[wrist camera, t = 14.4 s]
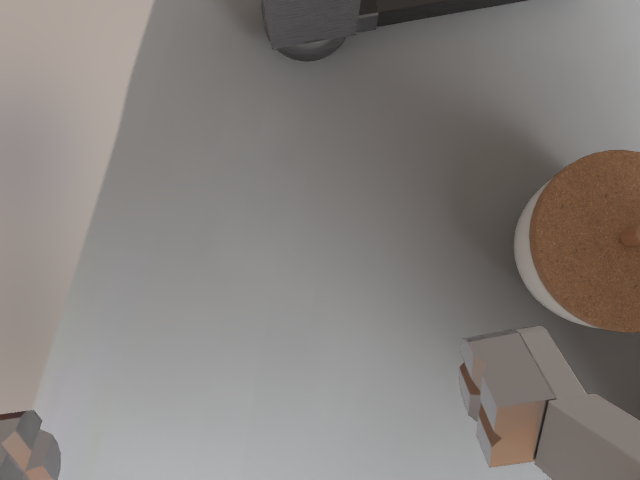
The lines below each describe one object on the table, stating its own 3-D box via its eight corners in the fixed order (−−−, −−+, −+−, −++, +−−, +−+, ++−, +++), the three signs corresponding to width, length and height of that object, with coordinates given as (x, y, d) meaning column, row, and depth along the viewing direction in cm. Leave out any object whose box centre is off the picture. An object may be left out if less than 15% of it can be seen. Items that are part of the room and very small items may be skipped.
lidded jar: (612, 165, 40) (702, 119, 31) (662, 307, 39) (772, 304, 29) (473, 202, 40) (521, 166, 30) (518, 347, 38) (583, 356, 29)
